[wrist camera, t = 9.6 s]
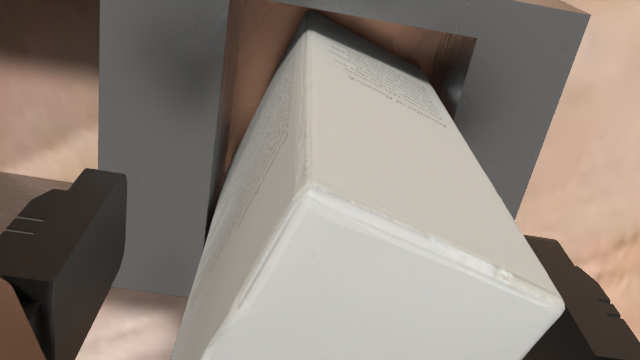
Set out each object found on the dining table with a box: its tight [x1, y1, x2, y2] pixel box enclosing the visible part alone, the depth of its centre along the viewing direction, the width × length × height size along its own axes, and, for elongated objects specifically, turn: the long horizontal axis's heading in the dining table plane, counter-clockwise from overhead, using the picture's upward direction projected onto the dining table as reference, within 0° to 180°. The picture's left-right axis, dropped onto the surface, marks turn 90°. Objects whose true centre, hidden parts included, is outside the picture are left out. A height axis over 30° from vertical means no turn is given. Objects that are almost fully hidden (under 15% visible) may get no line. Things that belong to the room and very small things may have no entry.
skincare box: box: [170, 10, 565, 360], centre depth 14 cm, size 6×4×12 cm
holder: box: [0, 0, 591, 298], centre depth 17 cm, size 20×10×4 cm, turn 80°
